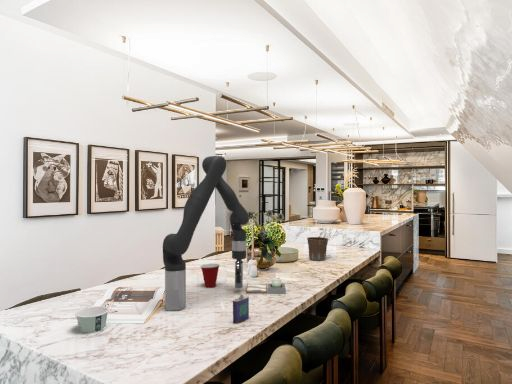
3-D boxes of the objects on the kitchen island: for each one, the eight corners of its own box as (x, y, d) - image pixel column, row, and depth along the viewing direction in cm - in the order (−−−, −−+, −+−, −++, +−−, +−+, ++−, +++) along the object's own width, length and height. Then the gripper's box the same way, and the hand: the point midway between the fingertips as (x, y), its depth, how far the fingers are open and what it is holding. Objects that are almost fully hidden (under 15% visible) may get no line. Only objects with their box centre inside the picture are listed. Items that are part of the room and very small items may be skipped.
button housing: (285, 294, 185) (285, 288, 185) (267, 293, 185) (267, 288, 185) (284, 289, 194) (284, 283, 194) (267, 288, 194) (267, 283, 194)
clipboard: (267, 293, 186) (267, 290, 186) (245, 293, 186) (245, 290, 186) (267, 285, 202) (267, 282, 202) (247, 285, 202) (247, 282, 202)
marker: (242, 288, 187) (242, 267, 187) (234, 288, 187) (234, 266, 187) (242, 286, 191) (243, 265, 191) (235, 286, 191) (235, 265, 191)
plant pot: (331, 258, 278) (331, 237, 278) (323, 262, 264) (323, 240, 264) (311, 256, 287) (312, 236, 286) (303, 260, 273) (303, 238, 273)
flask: (245, 316, 153) (245, 290, 152) (251, 317, 151) (251, 292, 151) (231, 322, 145) (231, 296, 145) (237, 324, 143) (237, 297, 143)
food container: (70, 328, 140) (70, 311, 140) (101, 320, 148) (101, 304, 148) (81, 337, 131) (81, 319, 131) (114, 328, 140) (114, 311, 140)
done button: (281, 289, 187) (281, 282, 187) (271, 289, 187) (271, 282, 187) (281, 287, 192) (281, 279, 192) (271, 287, 192) (271, 279, 192)
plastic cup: (207, 282, 207) (207, 261, 207) (223, 285, 202) (223, 263, 202) (196, 287, 197) (196, 265, 197) (212, 289, 192) (212, 267, 192)
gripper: (245, 251, 182) (245, 285, 182) (247, 247, 196) (246, 278, 196) (230, 251, 182) (230, 285, 182) (233, 247, 196) (232, 278, 196)
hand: (238, 281), depth 189 cm, fingers closed on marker, 4 cm apart
